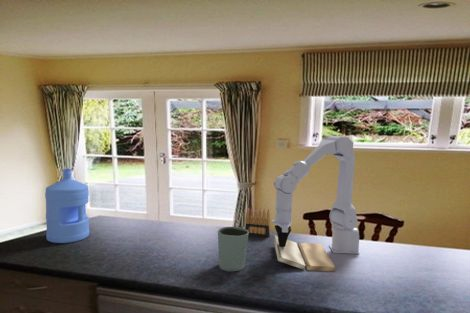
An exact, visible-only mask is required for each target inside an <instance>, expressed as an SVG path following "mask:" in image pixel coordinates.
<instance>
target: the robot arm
mask: <svg viewBox="0 0 470 313" xmlns="http://www.w3.org/2000/svg"><path fill="white" fill-rule="evenodd" d="M326 155H327V156H328V155H333V156H334V157H335V158H337V160H338V161H339V164H338V174H337V175H338V177H337V178H338V179H337V186H336V188H337V190H336V201H335V202H334V203H333V204H332V206H331V210H330V212H329V216H328V217H329V220H330V222H331V223H332V224H331V225H332V234H331V237H332V238H331V244H328V247H329V248H330V250H331V251H332V253H334V254H351V255H352V254H353V255H354V254H355V255H356V254H357V255H359V254H360V252H359V248H360V247H359V246H360V231H359V229H358V228H357V227H356V226H357V225H358V216H357V209H356V208H355V206H354V205H353V203H352V202H353V191H354V190H353V189H354V176H355V166H356V155H355V150H354V142H353V140H351V138H350V137H349V136H346V135H327V136H326V137H324V139H322V140H321V141H320V142H319V143H318V145H317V146H316V147H315V148H314V149H313V150H312V151H311V152H310V153H309V154H308V155H307V156H306V158H305V159H303V160H297V161H294V162H293V163H292V164H293V165H292V166H290V168H288V170H285V171H284V172H283V174H281V175H278V176H277V177H276V178H275V180H274V182H273V186H274V188H275V190H276V193H275V194H276V195H275V212H274V214H275V215H274V218H275V219H271V223H272V224H275V225H274V230H275V231H276V233H277V234H276V236H278V243H279V247H285V246H286V242H287V240H288V238H289V236H290V233H291V232H292V228H291V225H293V222H292V218H293V217H292V214H293V213H292V210H293V196H294V195H293V192H295V190H296V189H297V185H298V183H300V182H301V181H302V180H303V179H304V178H305V177H306V176H307V175H308V174H309V173H310V170H311V169H310V168H312V166H314V165H315V164H317V163H318V162H319V161H320V160H322V159H323V158H324V157H325V156H326Z"/></svg>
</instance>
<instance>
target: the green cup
mask: <svg viewBox="0 0 470 313" xmlns="http://www.w3.org/2000/svg"><path fill="white" fill-rule="evenodd" d="M248 234H249V232H248V230H246V229H245V228H243V227H239V226H224V227H220V228H219V229H218V230H217V243H218V245H217V246H218V267H219V269H220V270H223V271H225V272H238V271H241V270H243V269H244V268H245V267H246V266H245V264H246V255H247V246H248V241H249V240H248V239H249V235H248Z"/></svg>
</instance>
